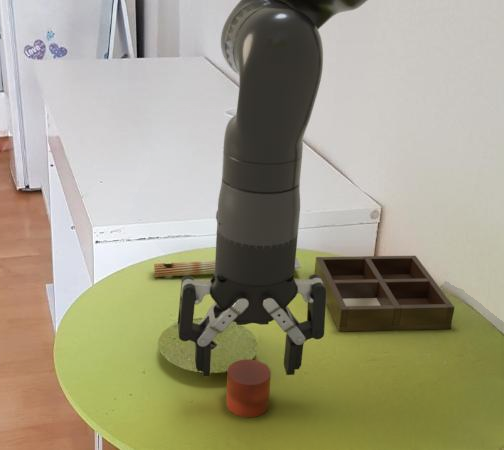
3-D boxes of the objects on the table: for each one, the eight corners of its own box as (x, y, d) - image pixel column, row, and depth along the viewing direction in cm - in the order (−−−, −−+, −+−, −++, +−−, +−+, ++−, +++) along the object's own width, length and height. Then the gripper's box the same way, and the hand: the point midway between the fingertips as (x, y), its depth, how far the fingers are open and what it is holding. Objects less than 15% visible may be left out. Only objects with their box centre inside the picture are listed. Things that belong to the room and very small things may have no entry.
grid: (412, 275, 105) (415, 255, 104) (450, 329, 92) (454, 307, 91) (313, 276, 104) (315, 256, 103) (338, 331, 91) (341, 309, 90)
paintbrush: (302, 259, 101) (154, 267, 100) (301, 277, 103) (154, 285, 101) (297, 247, 105) (153, 254, 104) (296, 264, 106) (154, 272, 105)
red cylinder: (264, 390, 80) (267, 358, 78) (271, 416, 76) (274, 384, 74) (223, 391, 80) (225, 359, 78) (228, 418, 76) (230, 385, 74)
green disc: (163, 328, 91) (163, 314, 90) (256, 332, 90) (257, 318, 90) (152, 383, 81) (152, 368, 80) (257, 389, 80) (258, 374, 79)
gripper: (183, 243, 65) (179, 395, 72) (343, 242, 67) (324, 392, 73) (178, 209, 72) (175, 351, 79) (323, 209, 74) (308, 349, 80)
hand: (247, 371), depth 76 cm, fingers open, 8 cm apart
